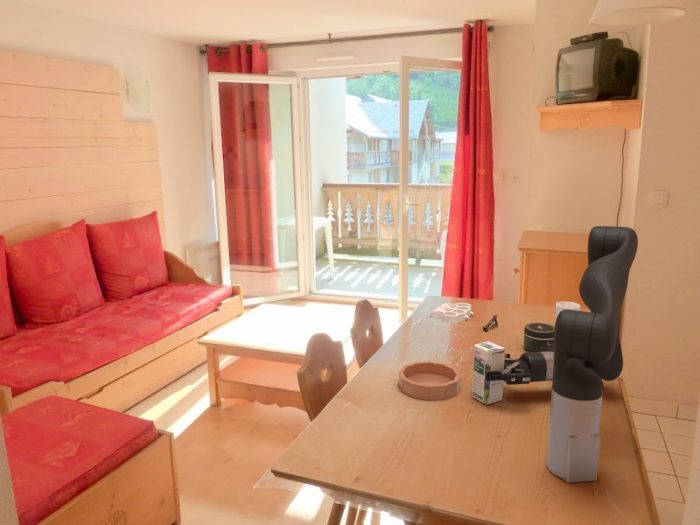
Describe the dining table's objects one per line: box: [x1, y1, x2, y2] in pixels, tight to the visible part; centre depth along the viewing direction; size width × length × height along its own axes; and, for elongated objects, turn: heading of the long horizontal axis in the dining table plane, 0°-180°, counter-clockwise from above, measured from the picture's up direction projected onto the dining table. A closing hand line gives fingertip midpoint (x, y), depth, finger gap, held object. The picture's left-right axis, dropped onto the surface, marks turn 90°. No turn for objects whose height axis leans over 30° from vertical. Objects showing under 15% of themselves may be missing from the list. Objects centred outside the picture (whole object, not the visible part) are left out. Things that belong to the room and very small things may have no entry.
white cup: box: [554, 301, 581, 321], centre depth 187 cm, size 8×8×10 cm
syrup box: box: [471, 341, 506, 406], centre depth 140 cm, size 6×6×14 cm
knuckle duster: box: [429, 302, 475, 325], centre depth 208 cm, size 3×18×15 cm
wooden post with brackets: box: [482, 314, 499, 332], centre depth 193 cm, size 2×8×4 cm, turn 133°
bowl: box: [398, 360, 461, 401], centre depth 148 cm, size 16×16×4 cm
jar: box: [523, 322, 555, 353], centre depth 172 cm, size 10×10×8 cm
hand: (480, 370), depth 139 cm, fingers closed on syrup box, 7 cm apart
